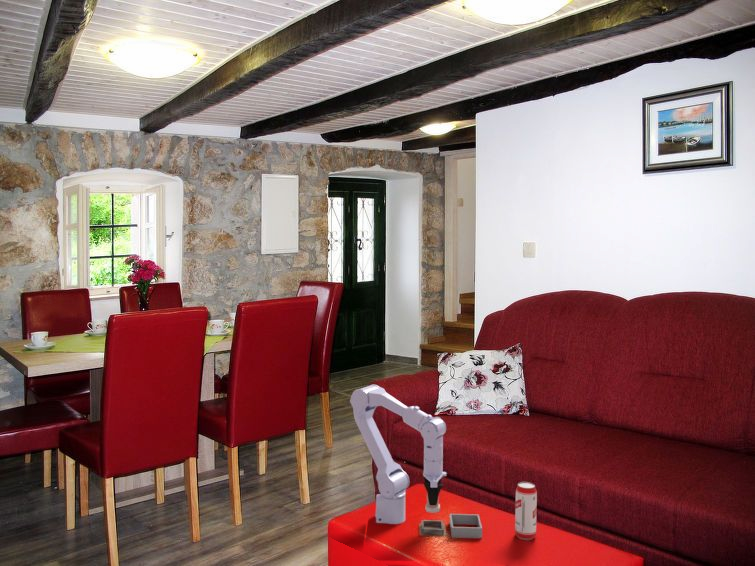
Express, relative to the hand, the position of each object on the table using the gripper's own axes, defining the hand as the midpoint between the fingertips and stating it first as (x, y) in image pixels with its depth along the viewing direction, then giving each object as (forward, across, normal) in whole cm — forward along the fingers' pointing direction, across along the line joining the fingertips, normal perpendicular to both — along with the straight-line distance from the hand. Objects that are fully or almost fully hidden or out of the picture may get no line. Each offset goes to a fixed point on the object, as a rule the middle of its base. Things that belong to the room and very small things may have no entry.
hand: (432, 502), depth 204 cm
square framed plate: (+10, 0, 0) cm, 10 cm away
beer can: (+10, -1, -28) cm, 30 cm away
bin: (+10, 0, -10) cm, 14 cm away
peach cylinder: (+2, 0, 0) cm, 2 cm away
